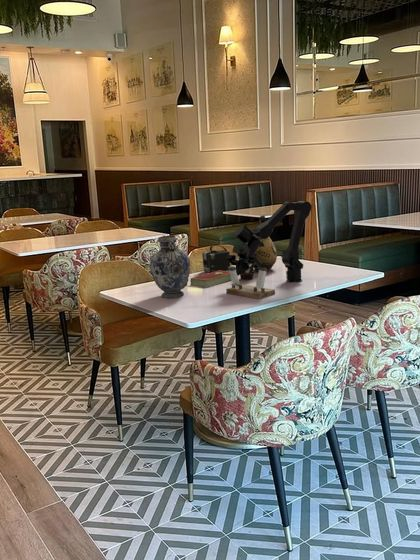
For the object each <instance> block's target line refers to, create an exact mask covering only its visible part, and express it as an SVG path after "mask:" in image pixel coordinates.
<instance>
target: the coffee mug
mask: <svg viewBox="0 0 420 560" xmlns="http://www.w3.org/2000/svg"><path fill="white" fill-rule="evenodd" d="M254 265H255V264H252V265H251V266H250V267H251V269H248V270H246V271H245V272H243V273H242V274H240V275H239V277H240V280H242V281H250V280H253V279H254V274H255V273H256V272H258V271H257V270H259V269H257V270H256V271H255V270H254Z"/></svg>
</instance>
